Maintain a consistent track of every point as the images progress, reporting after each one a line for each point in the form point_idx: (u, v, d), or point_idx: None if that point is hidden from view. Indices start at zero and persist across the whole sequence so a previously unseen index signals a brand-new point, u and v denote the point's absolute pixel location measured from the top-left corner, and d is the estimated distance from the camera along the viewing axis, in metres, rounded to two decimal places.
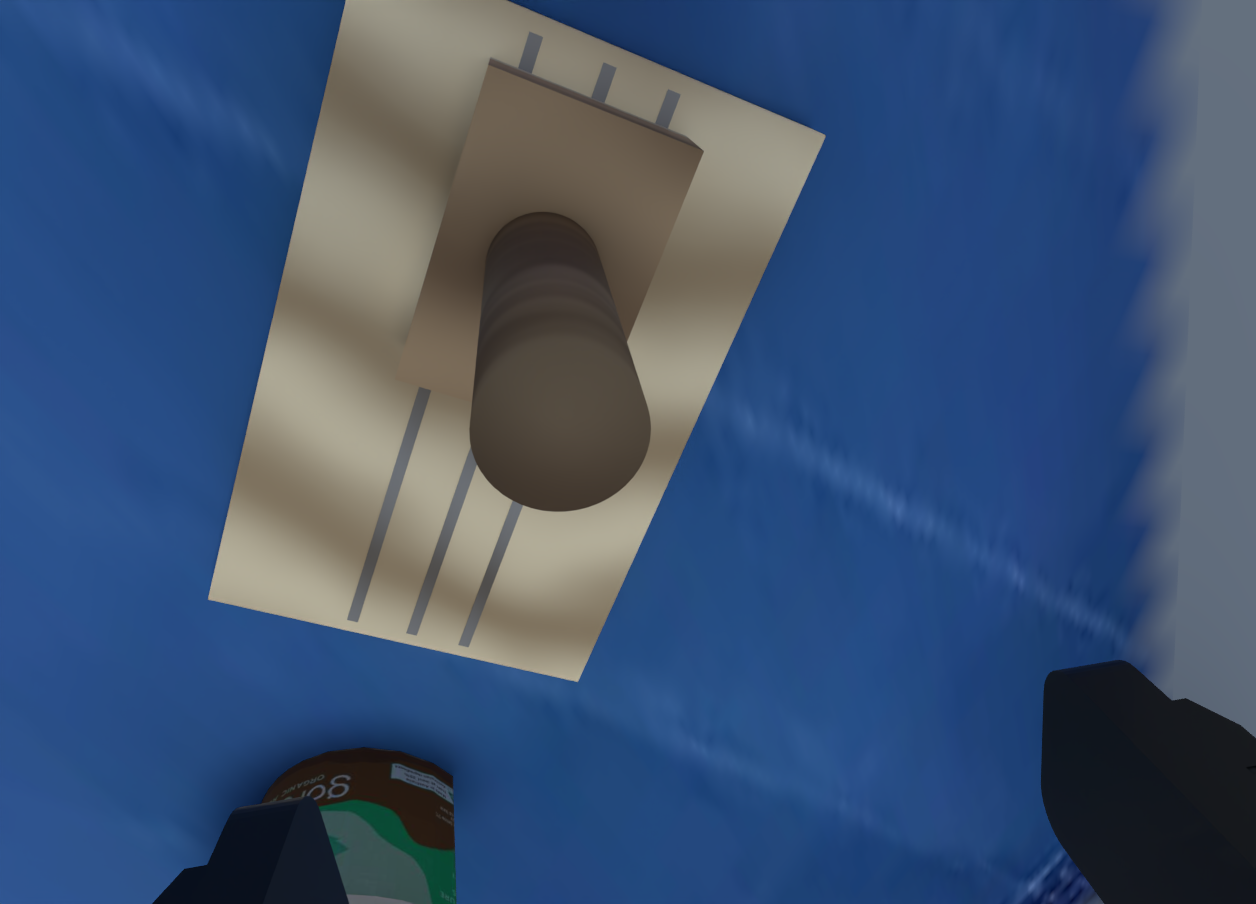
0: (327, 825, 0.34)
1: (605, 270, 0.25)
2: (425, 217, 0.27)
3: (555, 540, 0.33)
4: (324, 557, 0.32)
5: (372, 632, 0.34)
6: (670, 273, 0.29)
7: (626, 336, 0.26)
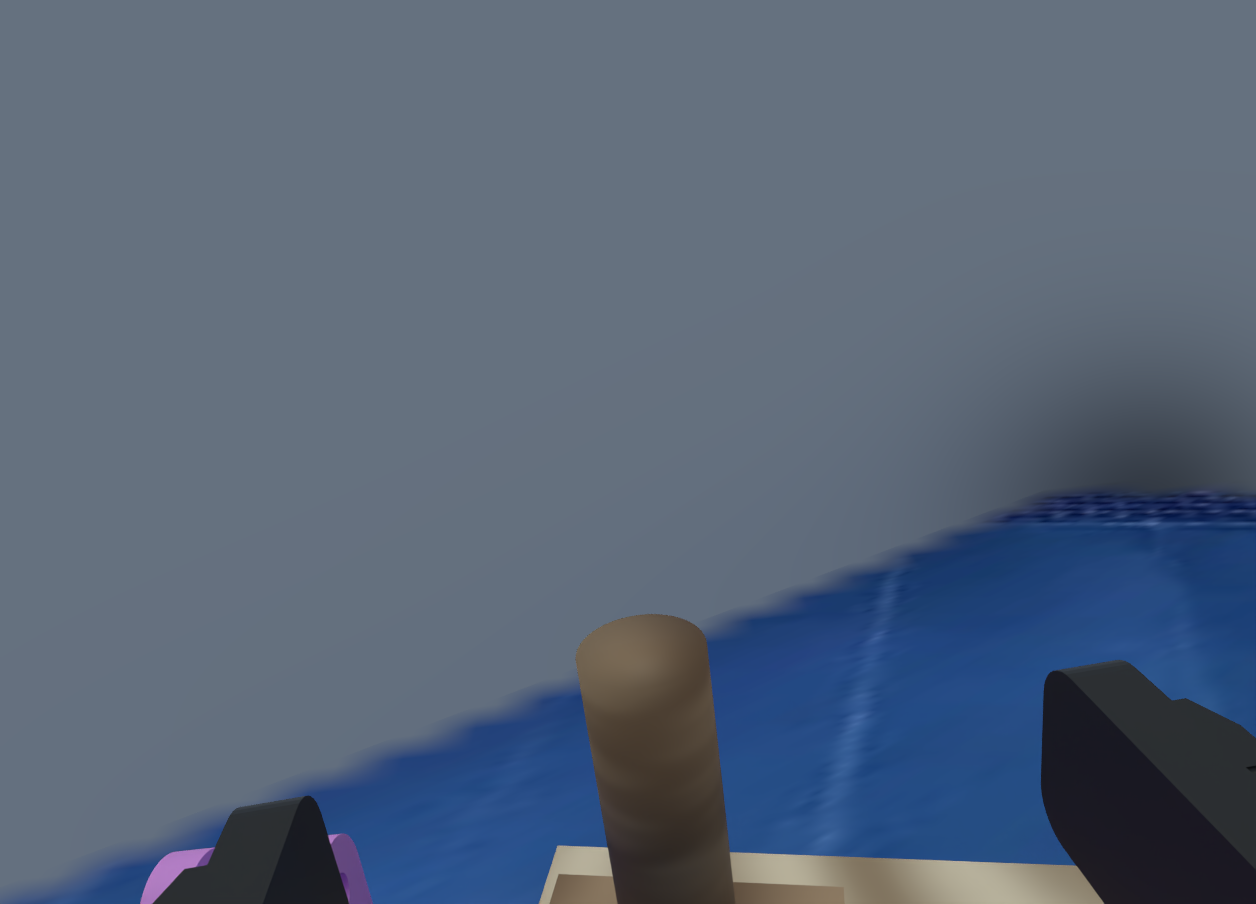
0: None
1: None
2: None
3: None
4: None
5: None
6: None
7: None
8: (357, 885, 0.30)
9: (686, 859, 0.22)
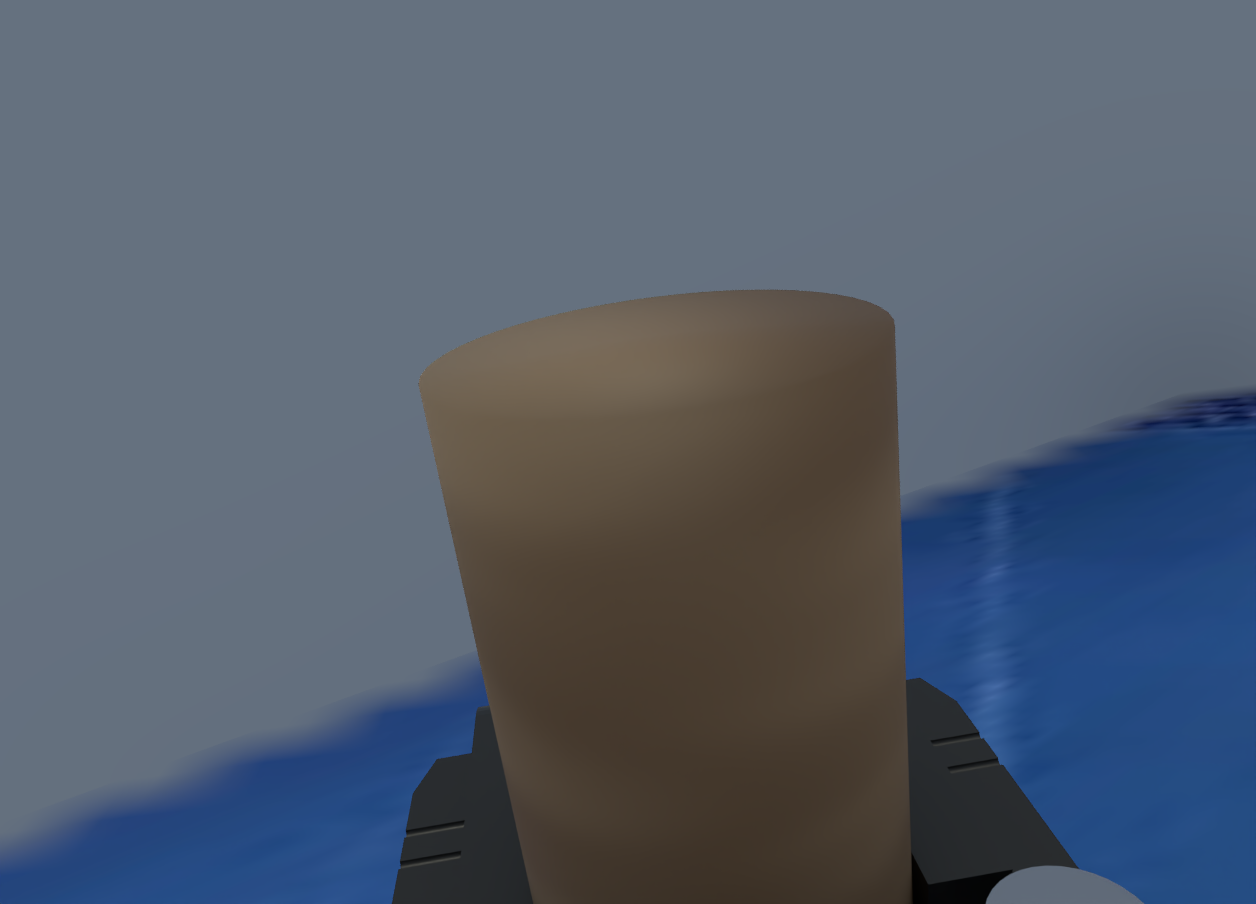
0: None
1: None
2: None
3: None
4: None
5: None
6: None
7: None
8: None
9: None
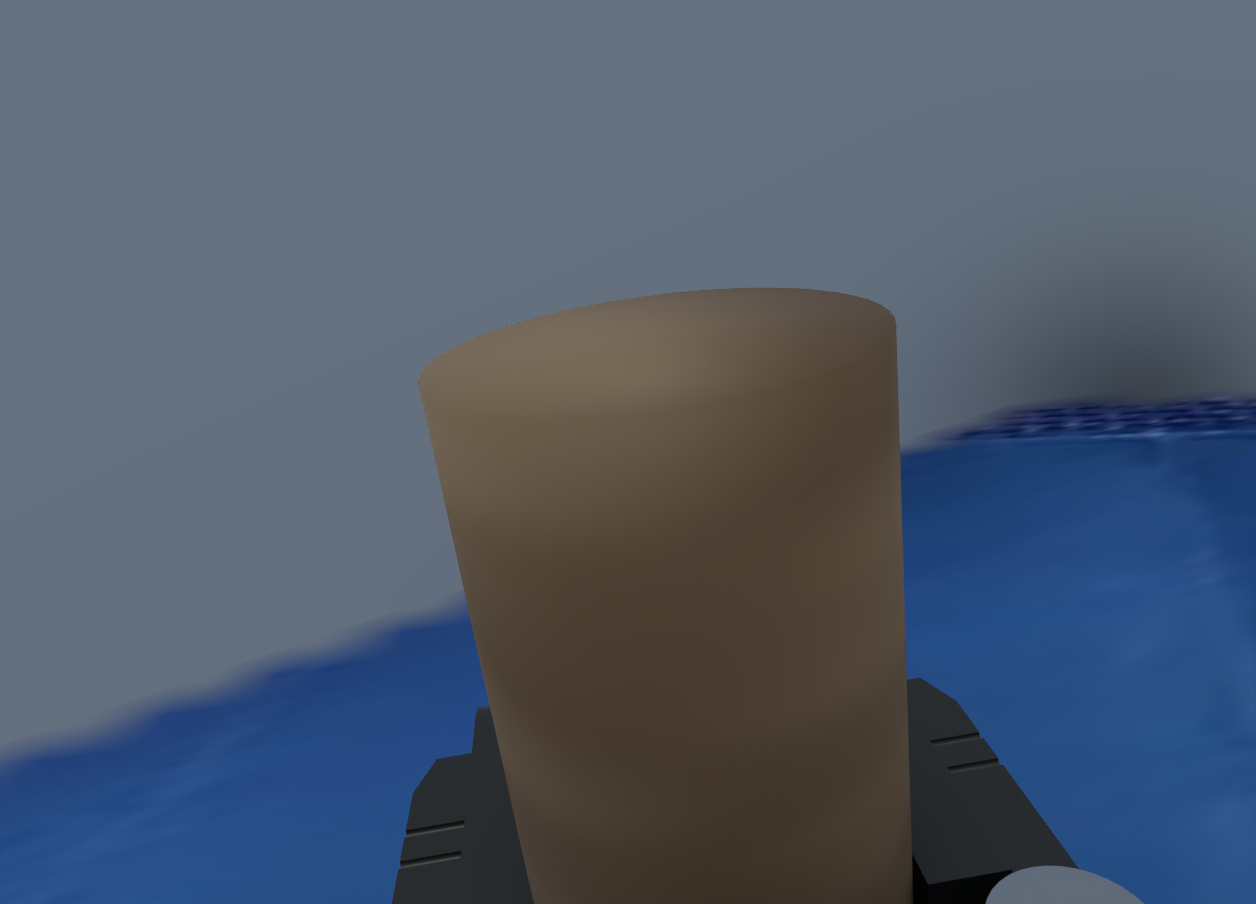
0: None
1: None
2: None
3: None
4: None
5: None
6: None
7: None
8: None
9: None
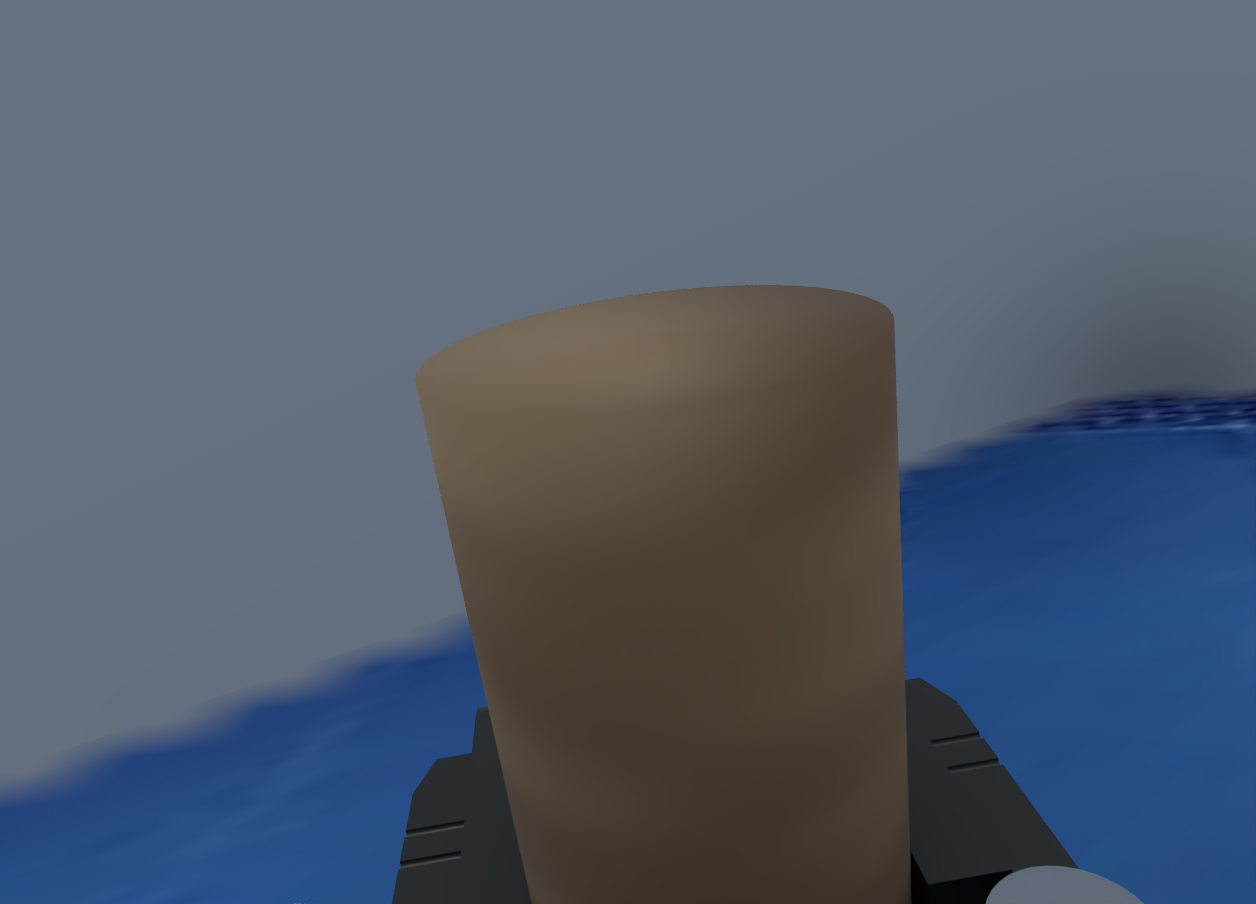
0: None
1: None
2: None
3: None
4: None
5: None
6: None
7: None
8: None
9: None
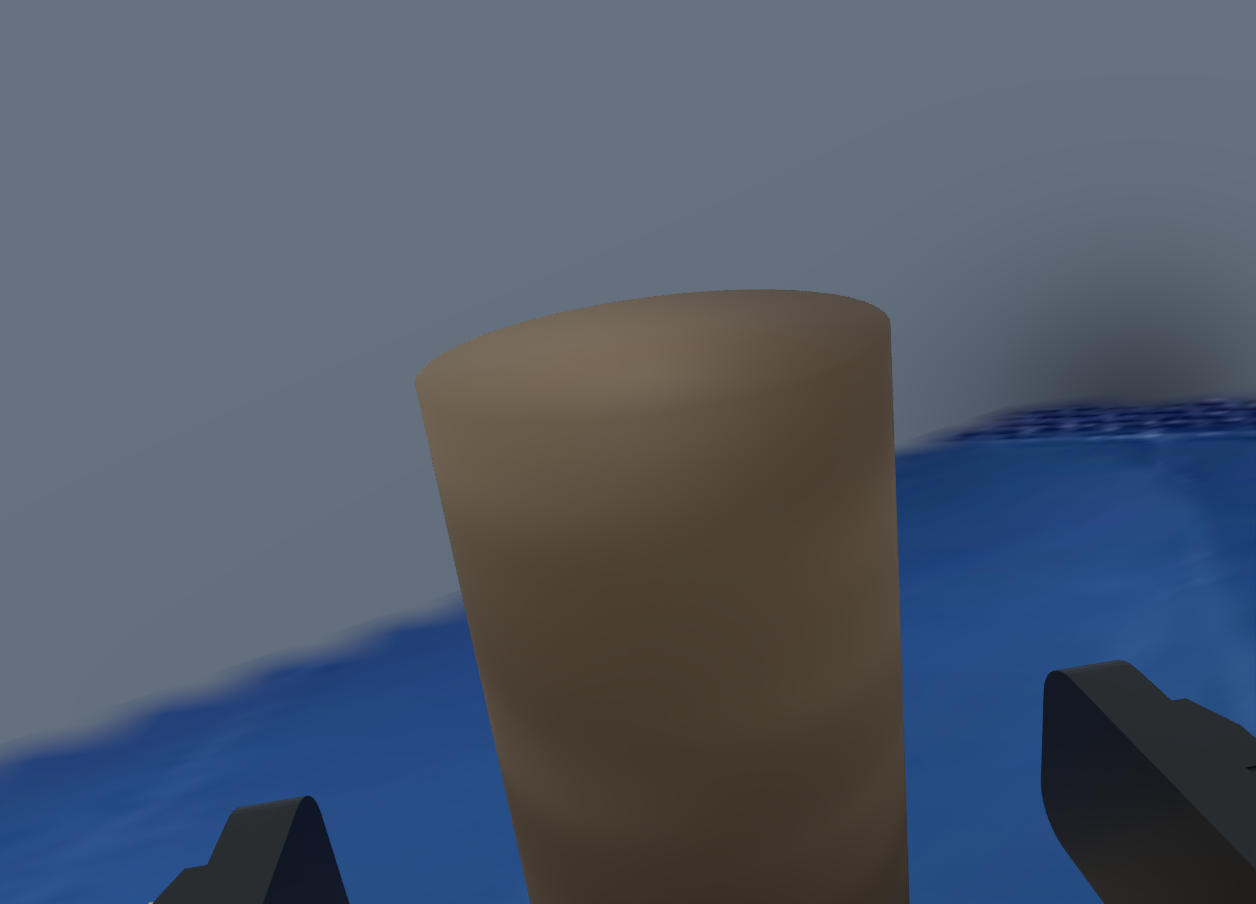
0: None
1: None
2: None
3: None
4: None
5: None
6: None
7: None
8: None
9: None
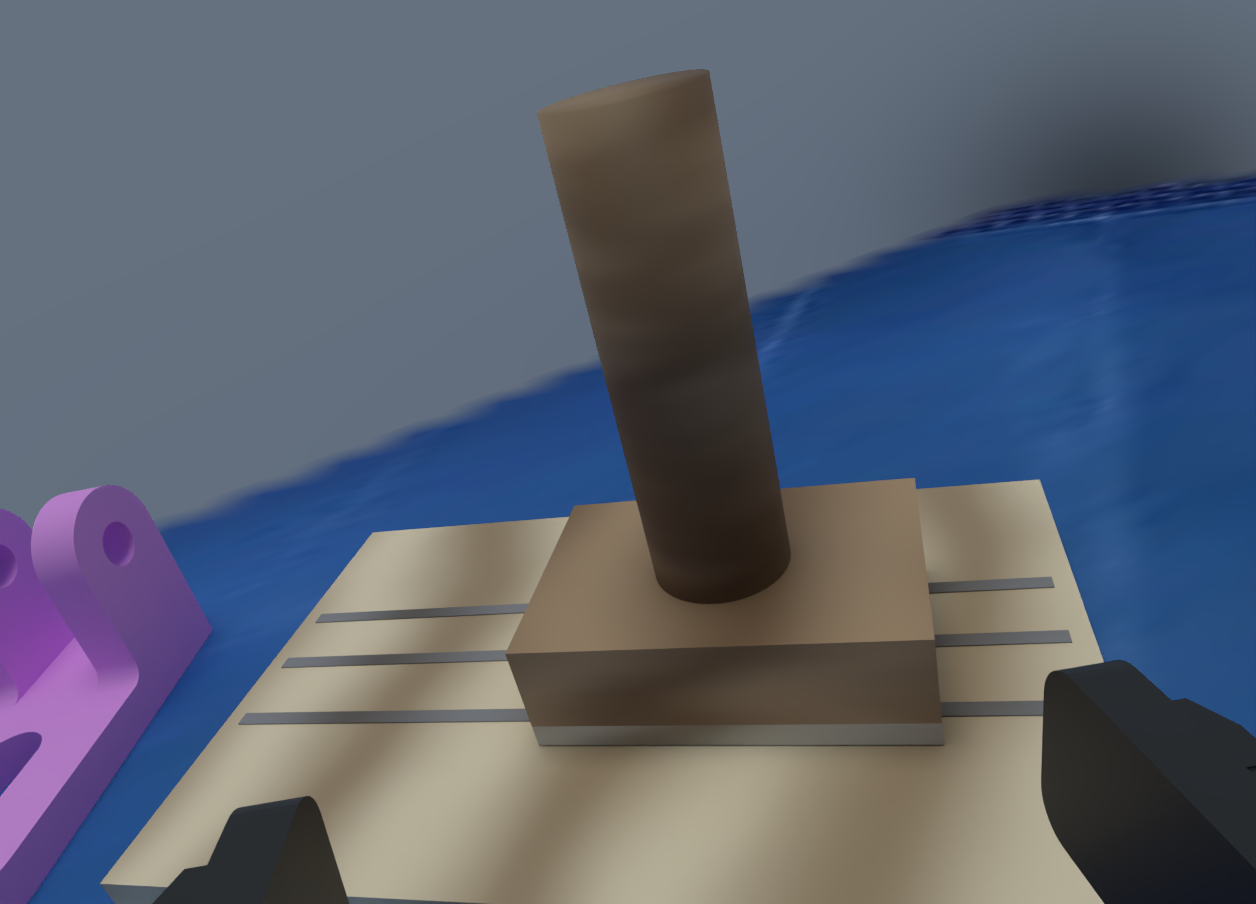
0: None
1: None
2: (413, 762, 0.22)
3: None
4: (978, 766, 0.18)
5: None
6: (486, 571, 0.28)
7: None
8: (149, 543, 0.29)
9: (704, 375, 0.17)
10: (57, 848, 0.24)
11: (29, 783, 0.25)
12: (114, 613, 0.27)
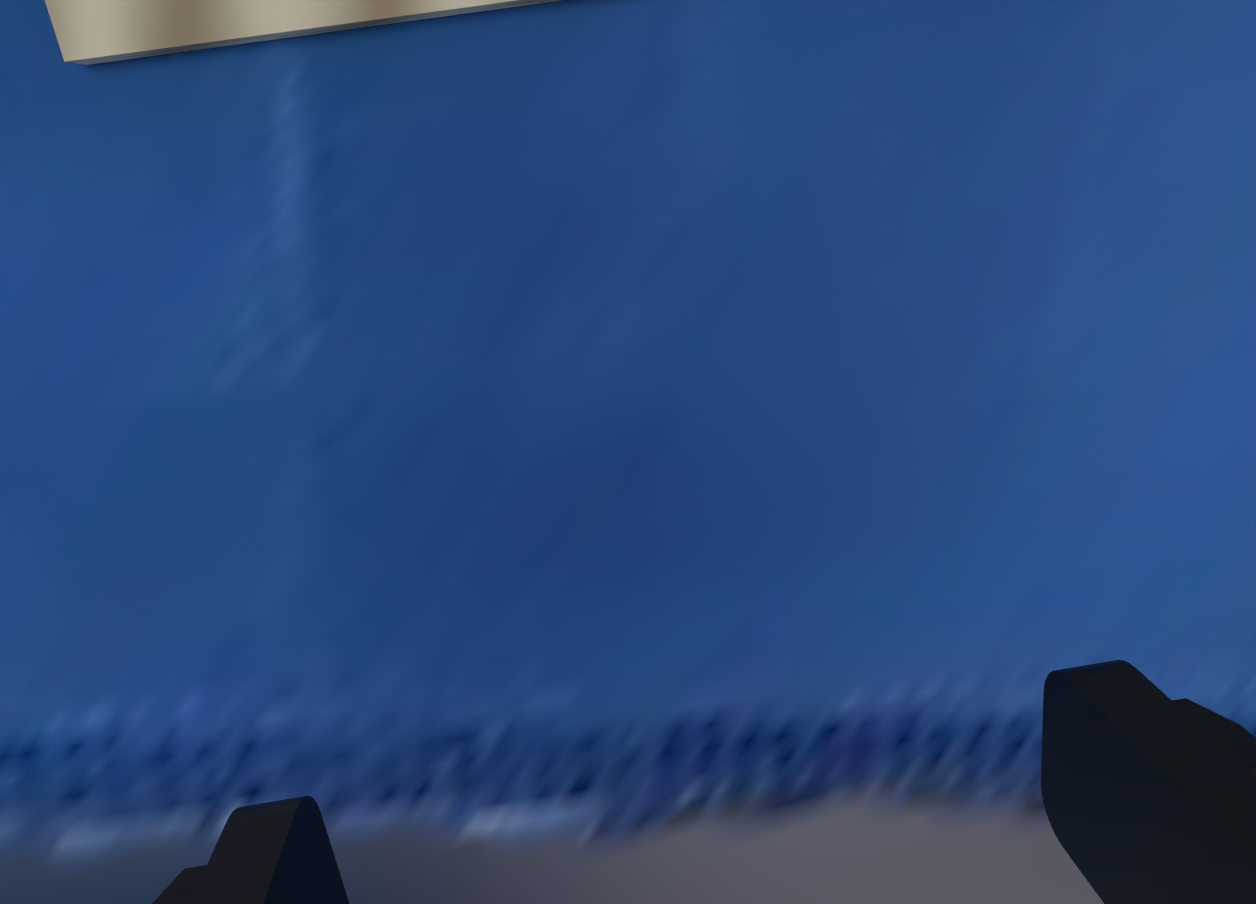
0: None
1: None
2: None
3: None
4: None
5: None
6: None
7: None
8: None
9: None
10: None
11: None
12: None
